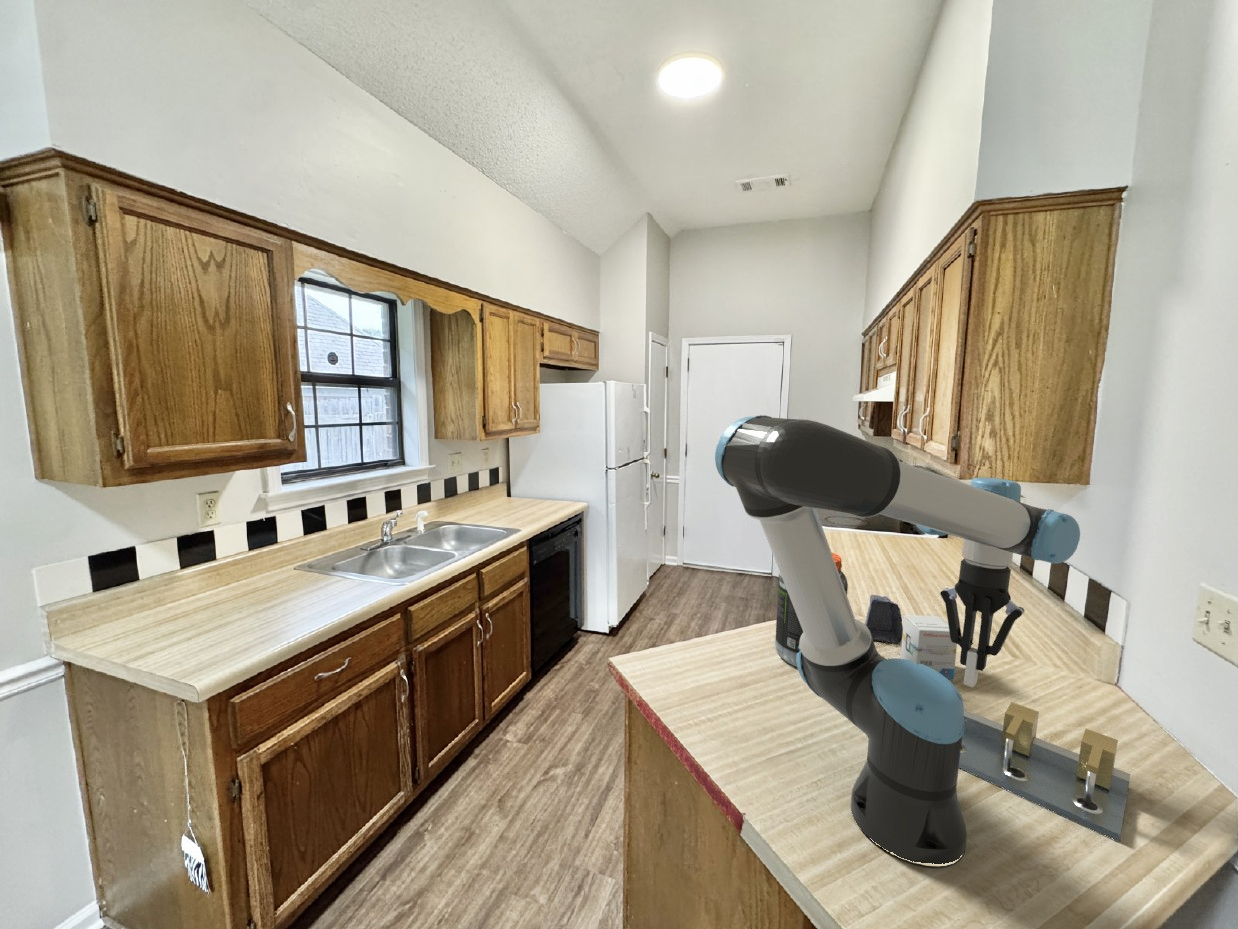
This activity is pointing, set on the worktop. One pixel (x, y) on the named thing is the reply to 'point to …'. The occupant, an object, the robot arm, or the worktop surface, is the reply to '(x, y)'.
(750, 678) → the worktop surface
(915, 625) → the ink box
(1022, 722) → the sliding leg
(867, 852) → the worktop surface
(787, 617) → the supplement tub
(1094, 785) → the grey peg fixture
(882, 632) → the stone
